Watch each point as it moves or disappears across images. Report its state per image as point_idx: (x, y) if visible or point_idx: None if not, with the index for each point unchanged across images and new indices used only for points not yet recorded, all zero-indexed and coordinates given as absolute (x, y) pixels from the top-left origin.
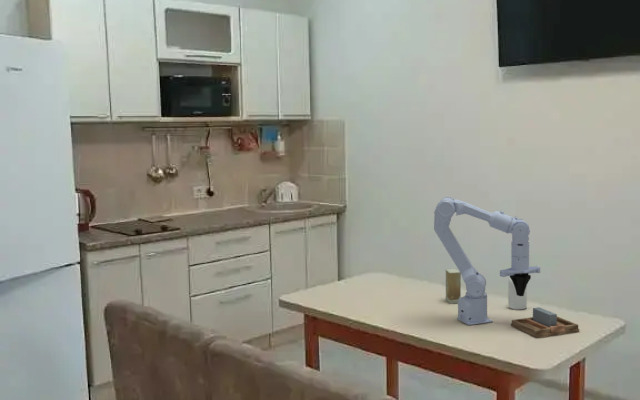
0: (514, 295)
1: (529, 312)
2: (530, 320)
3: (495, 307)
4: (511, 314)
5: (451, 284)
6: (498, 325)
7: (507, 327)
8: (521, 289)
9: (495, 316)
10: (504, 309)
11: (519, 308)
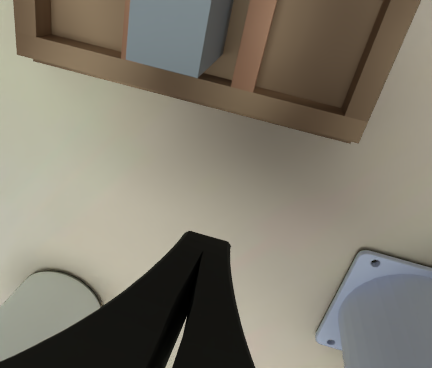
0: None
1: (62, 228)
2: (259, 45)
3: None
4: None
5: None
6: (391, 192)
7: (389, 131)
8: (214, 289)
9: (255, 291)
10: None
11: (76, 282)
